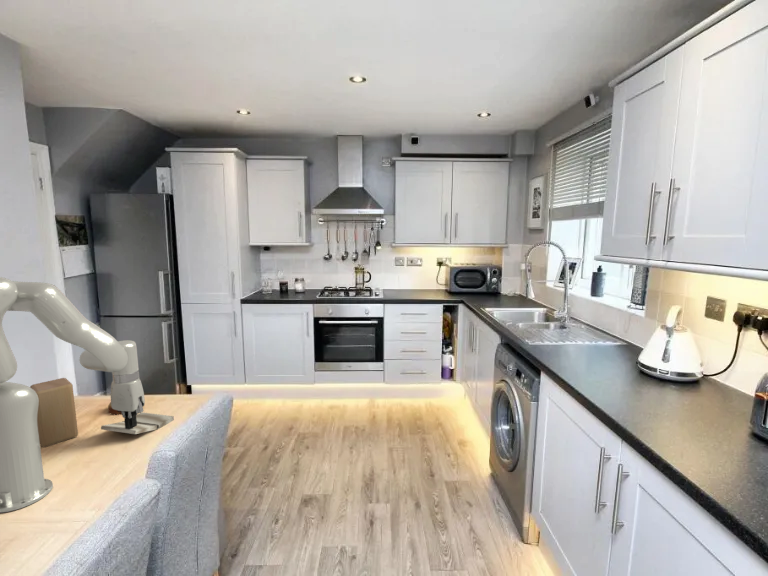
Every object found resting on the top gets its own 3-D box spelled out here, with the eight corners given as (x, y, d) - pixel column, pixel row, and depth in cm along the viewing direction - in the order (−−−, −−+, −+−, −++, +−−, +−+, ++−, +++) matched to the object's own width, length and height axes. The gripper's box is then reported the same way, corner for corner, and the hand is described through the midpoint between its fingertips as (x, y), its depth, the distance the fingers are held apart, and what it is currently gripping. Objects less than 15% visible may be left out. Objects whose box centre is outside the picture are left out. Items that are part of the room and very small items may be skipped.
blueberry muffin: (135, 411, 162) (130, 393, 163) (143, 407, 156) (138, 388, 158) (107, 420, 154) (102, 401, 155) (116, 416, 148) (110, 396, 150)
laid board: (157, 429, 139) (157, 425, 139) (124, 425, 143) (124, 421, 143) (173, 419, 147) (173, 416, 146) (142, 415, 150) (141, 412, 150)
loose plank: (135, 434, 130) (135, 430, 130) (100, 429, 134) (101, 425, 134) (156, 429, 139) (157, 425, 139) (123, 424, 142) (124, 421, 143)
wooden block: (71, 428, 141) (65, 376, 138) (79, 437, 134) (72, 382, 132) (35, 439, 133) (28, 384, 130) (41, 449, 127) (34, 391, 124)
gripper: (98, 378, 128) (104, 430, 131) (134, 382, 125) (139, 435, 127) (118, 371, 136) (123, 420, 138) (153, 374, 132) (157, 424, 134)
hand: (131, 427), depth 132 cm, fingers closed
